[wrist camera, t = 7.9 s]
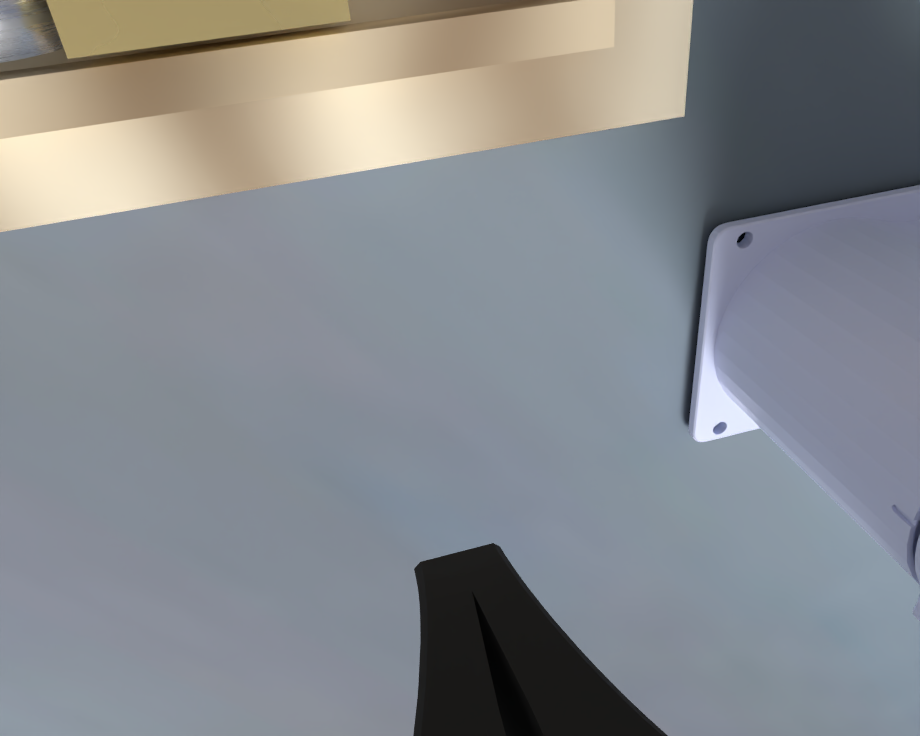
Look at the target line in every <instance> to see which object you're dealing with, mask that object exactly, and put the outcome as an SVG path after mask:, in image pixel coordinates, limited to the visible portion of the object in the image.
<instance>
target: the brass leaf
mask: <svg viewBox="0 0 920 736" xmlns="http://www.w3.org/2000/svg"><path fill="white" fill-rule="evenodd" d="M46 1H47V4H48V7H49V10H50V12H51V15H52V18H53V20H54V23H55V26H56V28H57V31H58V34H59V37H60V39H61V42H62V45H63V47H64V50H65V53H66V56H67V58H68V59H71V58H78V57H86V56H93V55H100V54H108V53H115V52H122V51H130V50H137V49H145V48H152V47H159V46H167V45H174V44H181V43H189V42H196V41H204V40H211V39H218V38H226V37H233V36H241V35H248V34H255V33H263V32H270V31H277V30H285V29H292V28H300V27H307V26H314V25H322V24H329V23H336V22H344V21H351V18H350V12H349V6H348V0H46Z"/></svg>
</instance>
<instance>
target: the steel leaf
mask: <svg viewBox="0 0 920 736" xmlns="http://www.w3.org/2000/svg"><path fill="white" fill-rule="evenodd" d="M62 48H64V47H63V45H62V42H61V39H60V37H59V34H58V31H57V28H56V26H55V23H54V20H53V18H52V15H51V12H50V10H49V7H48V4H47V1H46V0H0V63H3V62H8V61H14V60H19V59H24V58H29V57H33V56H38V55H42V54H46V53H50V52H53V51H56V50H59V49H62Z"/></svg>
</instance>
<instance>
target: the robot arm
mask: <svg viewBox="0 0 920 736" xmlns="http://www.w3.org/2000/svg"><path fill="white" fill-rule="evenodd" d="M744 232H745V233H746V234H745V237H744V239H743V240H742V241H741V242H739V243H737V240H738V237H739V236H740V235H741V234H742V233H744ZM718 423H719V424H718ZM716 424H718V425H717V426H715V425H716ZM714 426H715V427H714ZM758 428H761V429H762V430H763V431H764V432H765V433H766V434H767V435H768V436H769V437H770V438H771V439H772V440H773V441H774V442H775V443H776V444H777V445H778V446H779V447H780V448H781V449H782V450H783V451H784V452H785V453H786V454H787V455H788V456H789V457H790V458H791V459H792V460H793V461H794V462H795V463H796V464H797V465H798V466H799V467H800V468H801V469H802V470H803V471H804V472H805V473H807V474H808V475H809V476H810V477H811V478H812V479H813V480H814V481H815V482H816V483H817V484H818V485H819V486H820V487H821V488H822V489H823V490H824V491H825V492H826V493H827V494H828V495H829V496H830V497H831V498H832V499H833V500H834V501H835V502H836V503H837V504H838V505H839V506H840V507H841V508H842V509H843V510H844V511H845V512H846V513H847V514H848V515H849V516H850V517H851V518H852V519H853V520H854V521H855V522H856V523H857V524H858V525H859V526H860V527H861V528H862V529H864V530H865V531H866V532H867V533H868V534H869V535H870V536H871V537H872V538H873V539H874V540H875V541H876V542H877V543H878V544H879V545H880V546H881V547H882V548H883V549H884V550H885V551H886V552H887V553H888V554H889V555H890V556H891V557H892V558H893V559H894V560H895V561H896V562H897V563H898V564H899V565H900V566H901V567H902V568H903V569H904V570H905V571H906V572H907V573H908V574H909V575H910V576H911V577H912V578H913V579H914V580H915V581H916V582H917V583H918V584H919V585H920V185H916V186H911V187H906V188H901V189H896V190H891V191H886V192H881V193H876V194H870V195H865V196H860V197H855V198H850V199H845V200H840V201H835V202H830V203H825V204H819V205H814V206H809V207H804V208H799V209H794V210H789V211H784V212H779V213H774V214H769V215H763V216H758V217H753V218H748V219H743V220H738V221H733V222H728V223H724V224H721V225H719V226H718V227H716V228H715V229H714V230H713V231H712V233H711V234H710V236H709V239H708V244H707V254H706V263H705V273H704V283H703V292H702V302H701V312H700V322H699V331H698V341H697V351H696V360H695V370H694V380H693V389H692V399H691V409H690V419H689V428H688V429H689V433H690V435H691V436H692V437H693V438H694V439H695V440H696V441H698V442H706V441H710V440H714V439H718V438H722V437H726V436H730V435H734V434H738V433H742V432H746V431H750V430H754V429H758ZM414 570H415V575H416V580H417V585H418V591H419V601H420V622H421V646H420V667H419V687H418V699H417V709H416V718H415V727H414V736H667V735H666V734H665V733H664V732H663V731H662V730H661V729H660V728H658V727H657V726H656V725H655V724H654V723H653V722H652V721H651V720H650V719H648V718H647V717H646V716H645V715H644V714H643V713H642V712H641V711H640V710H639V709H638V708H637V707H636V706H635V705H634V704H633V703H632V702H631V701H630V700H628V699H627V698H626V697H625V696H624V695H623V694H622V693H621V692H620V691H619V690H618V689H617V688H616V687H615V686H614V685H613V684H612V683H611V682H610V681H609V680H608V679H607V678H606V677H605V675H604V674H603V673H602V672H601V671H600V670H599V669H598V668H597V667H596V666H595V665H594V664H593V663H592V662H591V661H590V660H589V659H588V658H587V657H586V656H585V654H584V653H583V652H582V651H581V650H580V649H579V648H578V647H577V646H576V644H575V643H574V642H573V641H572V640H571V639H570V638H569V637H568V635H567V634H566V633H565V632H564V631H563V630H562V629H561V627H560V626H559V625H558V624H557V623H556V622H555V621H554V619H553V618H552V617H551V616H550V615H549V613H548V612H547V611H546V610H545V609H544V607H543V606H542V605H541V604H540V602H539V601H538V600H537V598H536V597H535V596H534V595H533V593H532V592H531V591H530V590H529V588H528V587H527V586H526V584H525V583H524V582H523V580H522V579H521V578H520V576H519V575H518V573H517V572H516V571H515V569H514V568H513V566H512V565H511V563H510V562H509V560H508V559H507V557H506V556H505V554H504V553H503V551H502V549H501V548H500V547H499V546H498V545H496V544H494V543H492V544H488V545H484V546H480V547H477V548H473V549H469V550H465V551H461V552H457V553H453V554H450V555H446V556H442V557H438V558H434V559H430V560H426V561H422V562H420V563H419V564H418V565H417V566H416V567H415V569H414ZM913 615H914V616H915V617H916V618H917V619H918V620H919V621H920V595H919V599H918V601H917V603H916V605H915V607H914V609H913Z"/></svg>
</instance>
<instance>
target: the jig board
mask: <svg viewBox="0 0 920 736" xmlns="http://www.w3.org/2000/svg"><path fill="white" fill-rule="evenodd" d="M348 6H349V12H350V18H351V21H344V22H336V23H329V24H322V25H314V26H307V27H300V28H292V29H285V30H277V31H270V32H263V33H255V34H248V35H241V36H233V37H226V38H218V39H211V40H204V41H196V42H189V43H181V44H174V45H167V46H159V47H152V48H145V49H137V50H130V51H122V52H115V53H108V54H100V55H93V56H86V57H78V58H71V59H68V58H67V56H66V53H65V50H64V48H62V49H59V50H56V51H53V52H50V53H46V54H42V55H38V56H33V57H29V58H24V59H19V60H14V61H8V62H3V63H0V232H4V231H9V230H15V229H21V228H27V227H33V226H39V225H45V224H51V223H57V222H63V221H69V220H75V219H80V218H86V217H92V216H98V215H104V214H110V213H116V212H122V211H128V210H134V209H140V208H145V207H151V206H157V205H163V204H169V203H175V202H181V201H187V200H193V199H199V198H205V197H211V196H216V195H222V194H228V193H234V192H240V191H246V190H252V189H258V188H264V187H270V186H276V185H281V184H287V183H293V182H299V181H305V180H311V179H317V178H323V177H329V176H335V175H341V174H347V173H352V172H358V171H364V170H370V169H376V168H382V167H388V166H394V165H400V164H406V163H412V162H417V161H423V160H429V159H435V158H441V157H447V156H453V155H459V154H465V153H471V152H477V151H483V150H488V149H494V148H500V147H506V146H512V145H518V144H524V143H530V142H536V141H542V140H548V139H553V138H559V137H565V136H571V135H577V134H583V133H589V132H595V131H601V130H607V129H613V128H619V127H624V126H630V125H636V124H642V123H648V122H654V121H660V120H666V119H672V118H678V117H684V116H685V103H686V89H687V76H688V63H689V50H690V37H691V24H692V10H693V0H348Z"/></svg>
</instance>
